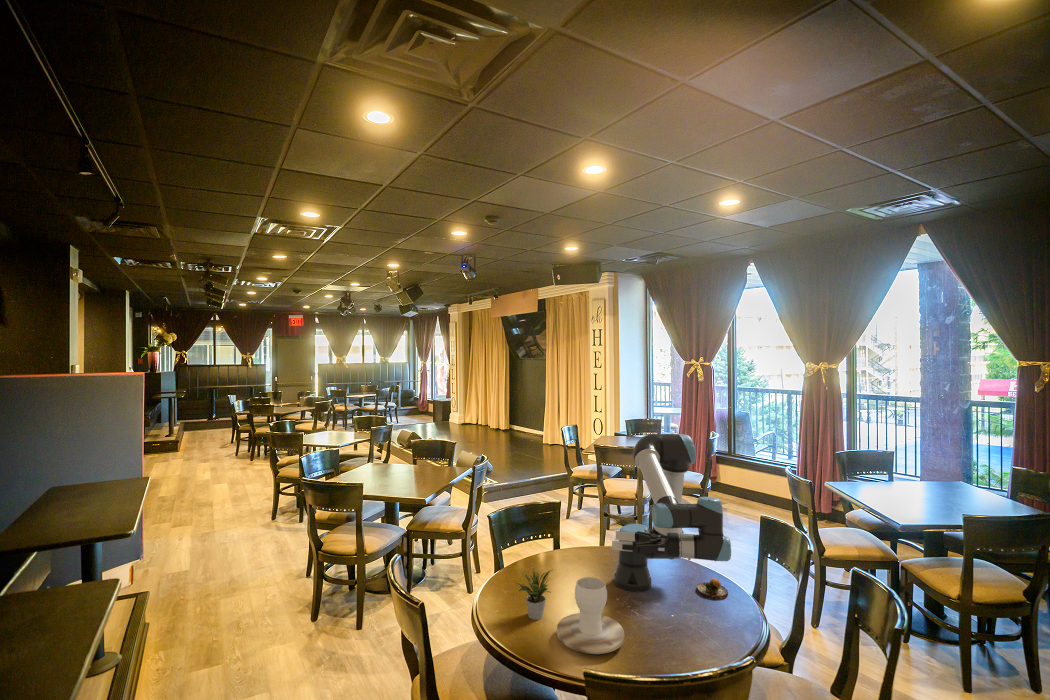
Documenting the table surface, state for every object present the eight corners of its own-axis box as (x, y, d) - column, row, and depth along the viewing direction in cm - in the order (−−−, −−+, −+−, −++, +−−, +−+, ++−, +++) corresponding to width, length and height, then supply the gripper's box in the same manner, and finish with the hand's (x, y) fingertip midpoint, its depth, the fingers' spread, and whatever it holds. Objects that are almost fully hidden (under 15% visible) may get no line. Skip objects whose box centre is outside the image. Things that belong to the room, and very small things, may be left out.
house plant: (536, 600, 193) (537, 557, 193) (564, 614, 183) (564, 569, 183) (509, 613, 183) (510, 568, 183) (536, 629, 173) (537, 581, 173)
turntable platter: (544, 627, 170) (544, 623, 170) (594, 611, 181) (594, 606, 181) (584, 661, 151) (585, 656, 151) (638, 641, 163) (638, 636, 163)
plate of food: (704, 583, 210) (704, 565, 210) (732, 593, 202) (733, 574, 202) (691, 593, 201) (691, 574, 202) (720, 603, 193) (720, 584, 193)
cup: (605, 639, 160) (606, 592, 160) (572, 635, 162) (573, 588, 163) (607, 622, 171) (607, 578, 171) (576, 618, 173) (576, 574, 173)
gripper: (681, 568, 152) (610, 562, 158) (678, 547, 176) (617, 542, 182) (680, 542, 153) (610, 537, 159) (678, 525, 177) (617, 521, 183)
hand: (613, 540), depth 170 cm, fingers open, 13 cm apart
